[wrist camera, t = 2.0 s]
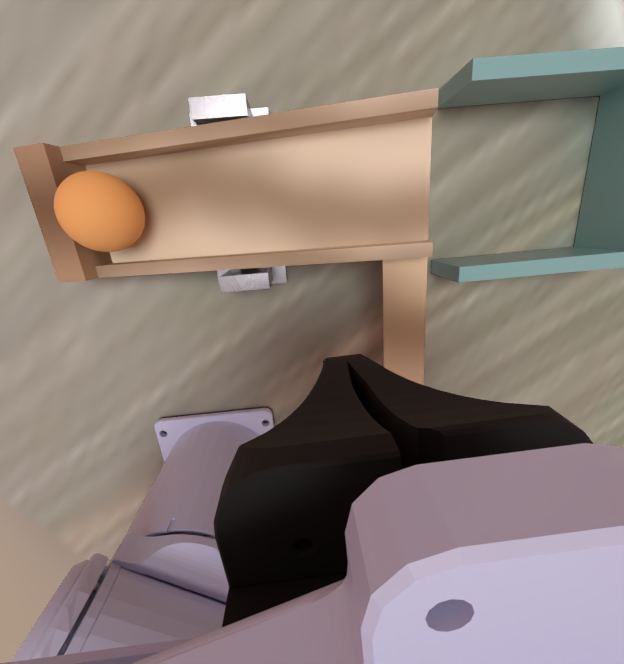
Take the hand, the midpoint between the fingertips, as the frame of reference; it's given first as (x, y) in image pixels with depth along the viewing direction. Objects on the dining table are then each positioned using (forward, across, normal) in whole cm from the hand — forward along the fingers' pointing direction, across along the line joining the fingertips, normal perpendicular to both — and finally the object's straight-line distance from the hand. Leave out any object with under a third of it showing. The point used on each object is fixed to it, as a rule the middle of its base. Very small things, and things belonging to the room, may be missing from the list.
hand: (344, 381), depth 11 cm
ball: (+6, +10, -7) cm, 13 cm away
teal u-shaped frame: (+10, -12, -6) cm, 16 cm away
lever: (+7, +4, -3) cm, 9 cm away
